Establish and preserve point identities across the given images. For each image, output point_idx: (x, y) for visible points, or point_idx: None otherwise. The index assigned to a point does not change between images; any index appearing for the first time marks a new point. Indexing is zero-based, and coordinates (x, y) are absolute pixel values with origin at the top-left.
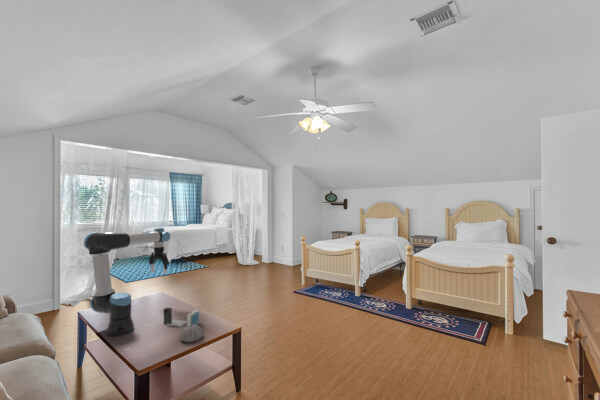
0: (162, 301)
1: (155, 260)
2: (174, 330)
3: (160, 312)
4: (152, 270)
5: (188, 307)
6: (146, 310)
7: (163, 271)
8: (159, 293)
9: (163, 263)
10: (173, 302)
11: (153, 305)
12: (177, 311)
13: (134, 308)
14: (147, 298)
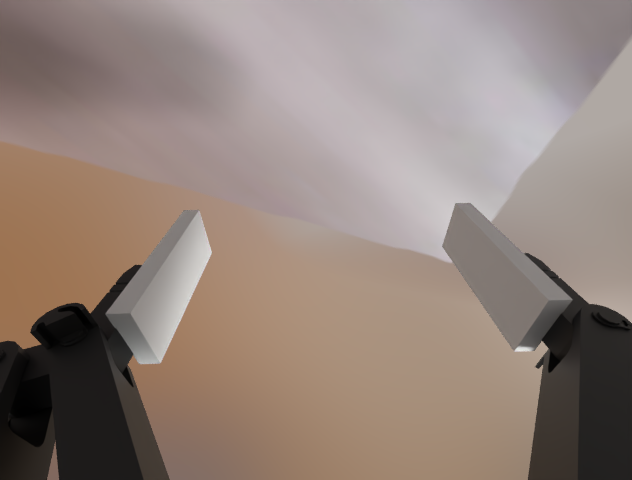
0: (349, 182)
1: (534, 446)
2: None
3: (188, 23)
4: (462, 233)
5: (129, 164)
6: (312, 14)
7: (181, 228)
8: None
9: (102, 366)
10: (278, 192)
11: (346, 112)
12: (113, 87)
13: (428, 10)
14: (472, 188)
